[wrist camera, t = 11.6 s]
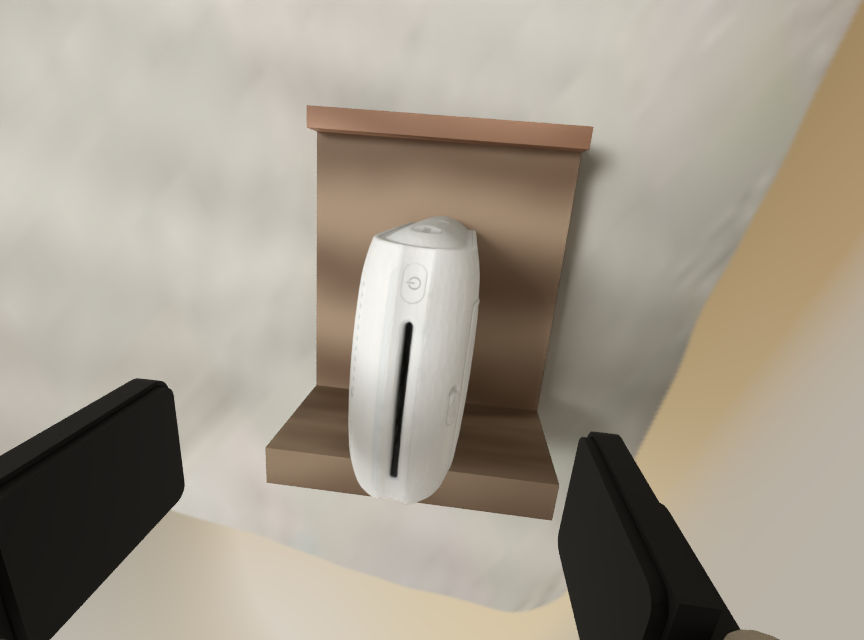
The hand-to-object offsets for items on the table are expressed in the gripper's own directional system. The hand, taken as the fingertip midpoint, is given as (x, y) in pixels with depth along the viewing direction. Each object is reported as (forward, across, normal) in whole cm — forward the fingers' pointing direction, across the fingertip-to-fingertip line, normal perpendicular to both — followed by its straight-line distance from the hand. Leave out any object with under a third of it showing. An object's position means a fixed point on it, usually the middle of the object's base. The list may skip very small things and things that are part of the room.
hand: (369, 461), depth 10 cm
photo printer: (+16, 0, +1) cm, 16 cm away
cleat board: (+19, 0, -1) cm, 19 cm away
